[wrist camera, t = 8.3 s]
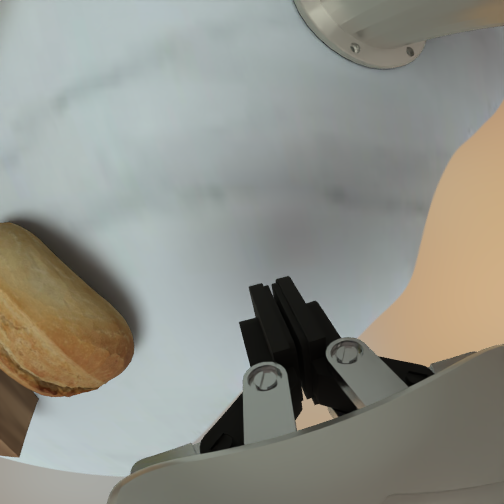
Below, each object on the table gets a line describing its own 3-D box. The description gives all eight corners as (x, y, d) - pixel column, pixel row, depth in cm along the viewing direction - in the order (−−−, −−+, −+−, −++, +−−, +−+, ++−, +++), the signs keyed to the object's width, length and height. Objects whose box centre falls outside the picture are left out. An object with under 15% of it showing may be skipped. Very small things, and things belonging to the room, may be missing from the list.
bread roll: (103, 376, 24) (90, 445, 17) (-26, 278, 18) (-74, 326, 11) (163, 308, 23) (159, 379, 16) (14, 187, 17) (-50, 214, 10)
